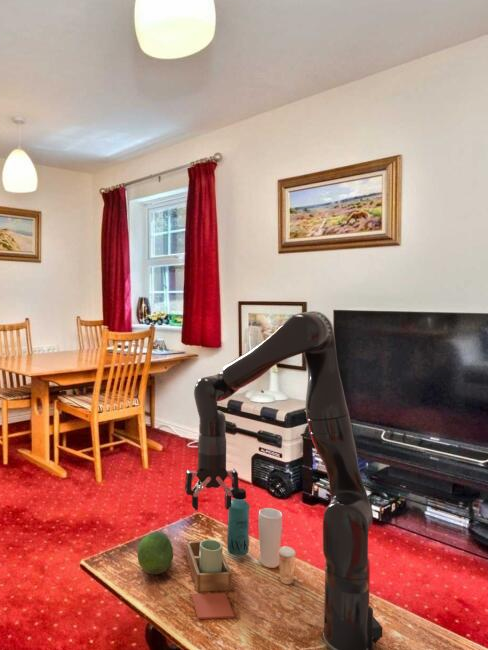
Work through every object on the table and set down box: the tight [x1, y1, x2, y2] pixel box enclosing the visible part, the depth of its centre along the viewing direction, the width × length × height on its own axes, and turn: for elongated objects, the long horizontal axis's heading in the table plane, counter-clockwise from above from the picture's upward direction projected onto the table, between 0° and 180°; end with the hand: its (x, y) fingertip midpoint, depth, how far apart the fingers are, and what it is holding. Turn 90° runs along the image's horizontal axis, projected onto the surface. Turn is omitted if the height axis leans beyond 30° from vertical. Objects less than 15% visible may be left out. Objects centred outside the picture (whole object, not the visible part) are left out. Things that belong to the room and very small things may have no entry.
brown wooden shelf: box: [185, 540, 232, 593], centre depth 138 cm, size 9×17×4 cm, turn 5°
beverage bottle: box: [226, 487, 250, 557], centre depth 146 cm, size 6×7×20 cm
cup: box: [199, 538, 223, 573], centre depth 133 cm, size 6×6×10 cm
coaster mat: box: [190, 592, 236, 620], centre depth 123 cm, size 9×9×1 cm
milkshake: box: [279, 545, 298, 585], centre depth 133 cm, size 4×5×10 cm
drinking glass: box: [257, 507, 284, 569], centre depth 142 cm, size 7×7×15 cm
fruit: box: [137, 531, 174, 575], centre depth 140 cm, size 15×10×10 cm, turn 164°
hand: (211, 508), depth 133 cm, fingers open, 8 cm apart
